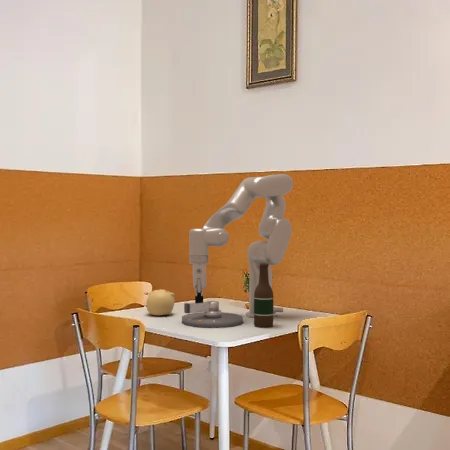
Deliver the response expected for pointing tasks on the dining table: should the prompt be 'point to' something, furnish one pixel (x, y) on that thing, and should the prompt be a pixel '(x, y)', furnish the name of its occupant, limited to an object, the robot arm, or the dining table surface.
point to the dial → (204, 308)
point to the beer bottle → (263, 300)
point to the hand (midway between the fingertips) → (199, 306)
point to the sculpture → (160, 302)
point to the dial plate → (212, 320)
